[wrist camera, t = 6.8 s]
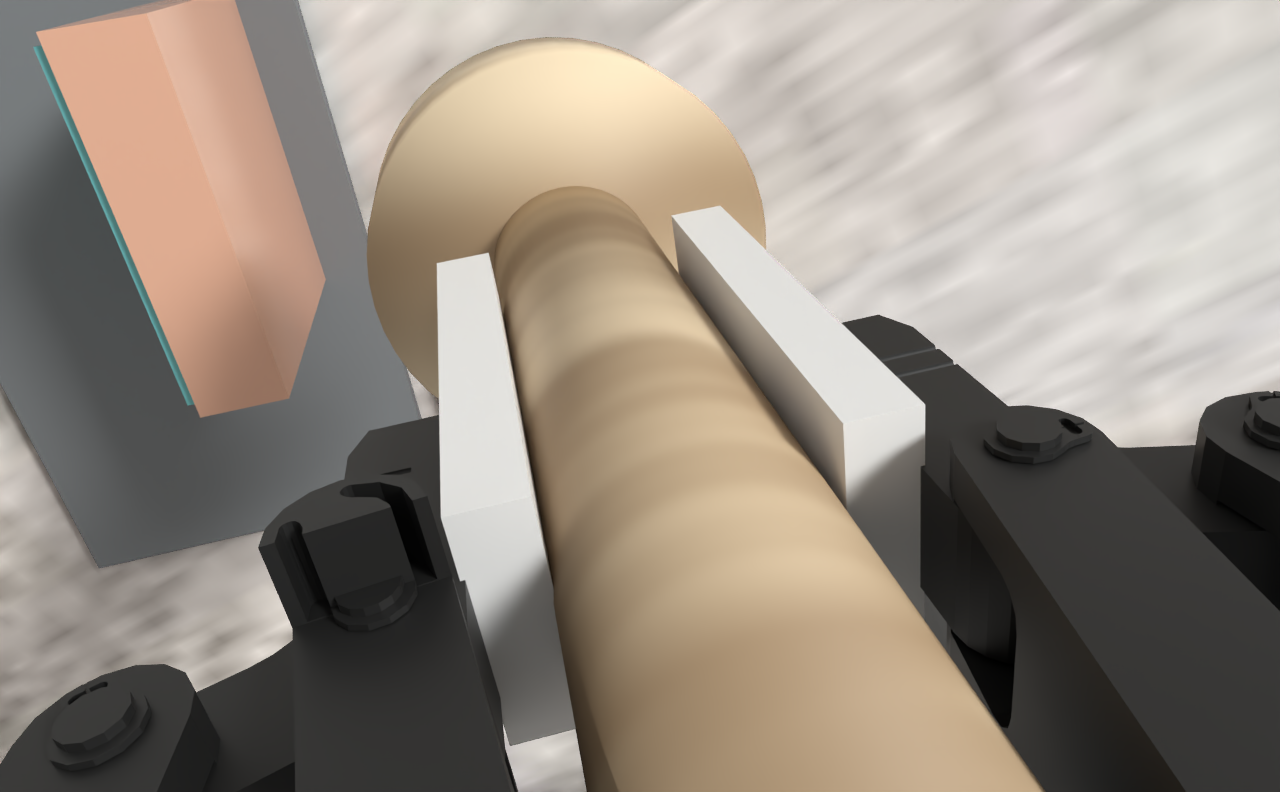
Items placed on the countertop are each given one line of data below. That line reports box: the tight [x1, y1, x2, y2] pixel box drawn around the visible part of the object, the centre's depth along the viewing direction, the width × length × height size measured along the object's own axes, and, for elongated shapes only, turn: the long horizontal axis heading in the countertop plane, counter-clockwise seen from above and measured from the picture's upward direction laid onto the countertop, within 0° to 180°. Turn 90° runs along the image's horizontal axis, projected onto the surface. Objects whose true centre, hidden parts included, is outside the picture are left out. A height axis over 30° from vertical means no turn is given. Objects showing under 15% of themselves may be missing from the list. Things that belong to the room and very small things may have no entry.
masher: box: [367, 37, 1046, 792], centre depth 12 cm, size 7×7×16 cm
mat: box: [0, 0, 422, 568], centre depth 33 cm, size 26×14×1 cm, turn 8°
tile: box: [33, 0, 326, 418], centre depth 27 cm, size 10×3×10 cm, turn 8°
